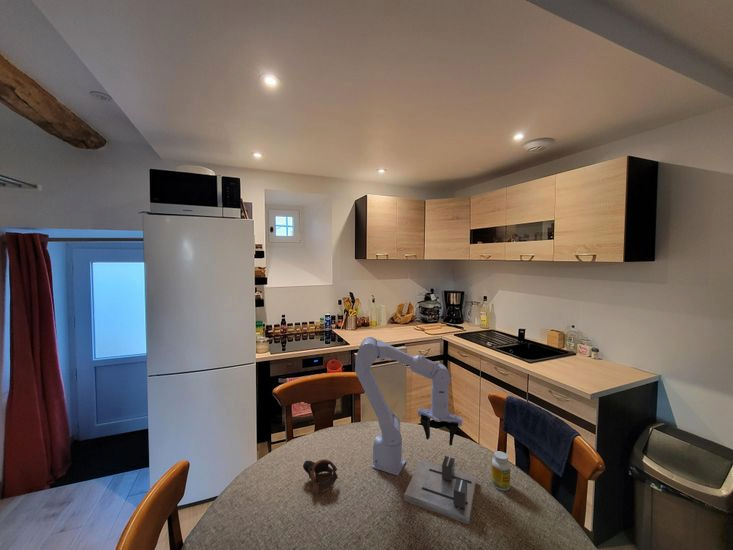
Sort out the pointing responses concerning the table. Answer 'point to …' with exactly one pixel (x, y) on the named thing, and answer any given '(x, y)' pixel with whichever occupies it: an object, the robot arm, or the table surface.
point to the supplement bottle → (500, 471)
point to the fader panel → (439, 491)
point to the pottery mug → (318, 468)
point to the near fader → (460, 493)
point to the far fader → (448, 468)
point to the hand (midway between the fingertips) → (439, 440)
